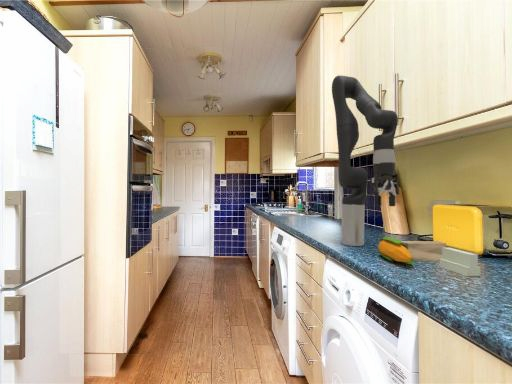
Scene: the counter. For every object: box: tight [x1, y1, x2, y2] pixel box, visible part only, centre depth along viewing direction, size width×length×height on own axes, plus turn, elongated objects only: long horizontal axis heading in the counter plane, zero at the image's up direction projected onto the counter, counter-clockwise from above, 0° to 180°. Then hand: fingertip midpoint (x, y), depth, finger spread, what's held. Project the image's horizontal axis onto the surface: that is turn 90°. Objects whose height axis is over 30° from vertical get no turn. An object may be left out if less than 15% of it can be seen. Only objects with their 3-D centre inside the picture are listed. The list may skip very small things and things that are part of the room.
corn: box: [377, 236, 415, 265], centre depth 98 cm, size 7×8×20 cm
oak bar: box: [401, 240, 447, 262], centre depth 102 cm, size 4×14×6 cm, turn 98°
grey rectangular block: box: [439, 247, 481, 277], centre depth 87 cm, size 10×4×6 cm, turn 9°
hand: (385, 206), depth 110 cm, fingers open, 8 cm apart
